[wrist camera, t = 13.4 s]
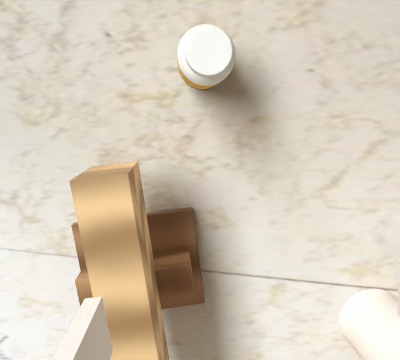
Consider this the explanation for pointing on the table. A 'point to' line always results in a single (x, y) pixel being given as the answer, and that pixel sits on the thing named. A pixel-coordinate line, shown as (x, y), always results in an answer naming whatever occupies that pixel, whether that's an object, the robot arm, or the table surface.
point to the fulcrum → (162, 259)
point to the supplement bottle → (205, 56)
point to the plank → (121, 258)
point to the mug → (372, 324)
